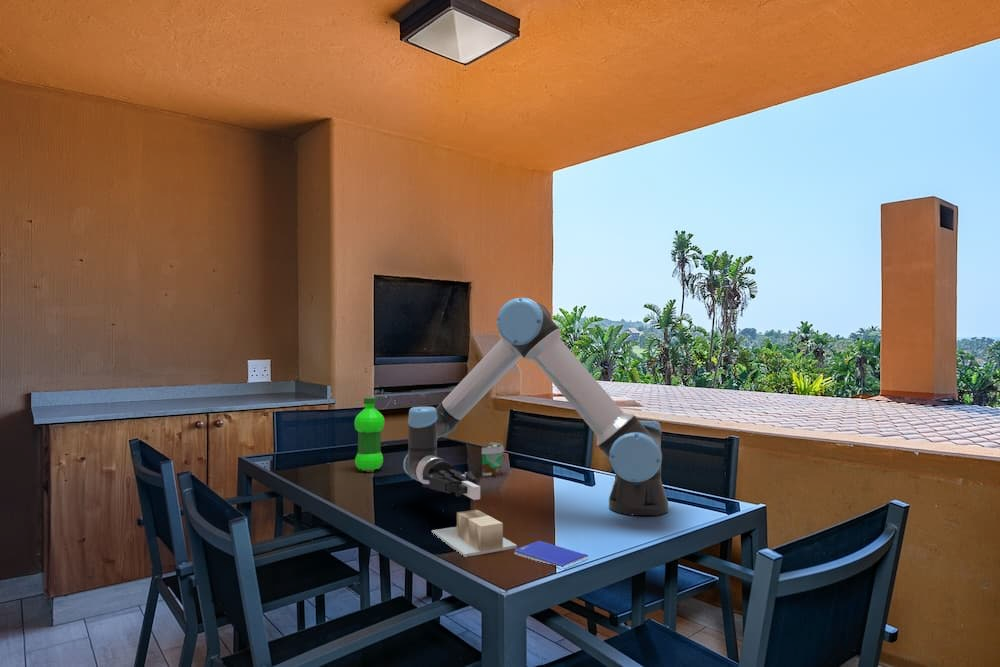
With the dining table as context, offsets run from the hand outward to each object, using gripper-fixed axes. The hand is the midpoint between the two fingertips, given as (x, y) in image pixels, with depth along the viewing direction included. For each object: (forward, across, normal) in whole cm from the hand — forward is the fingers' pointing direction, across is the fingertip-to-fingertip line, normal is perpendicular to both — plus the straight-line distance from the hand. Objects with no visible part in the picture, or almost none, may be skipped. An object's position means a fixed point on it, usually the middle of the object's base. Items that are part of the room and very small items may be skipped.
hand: (477, 493), depth 128 cm
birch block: (-5, 0, -8) cm, 9 cm away
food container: (-61, -36, -11) cm, 72 cm away
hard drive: (+15, -10, -11) cm, 21 cm away
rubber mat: (-2, 0, -11) cm, 11 cm away
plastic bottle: (-87, -1, -11) cm, 88 cm away
